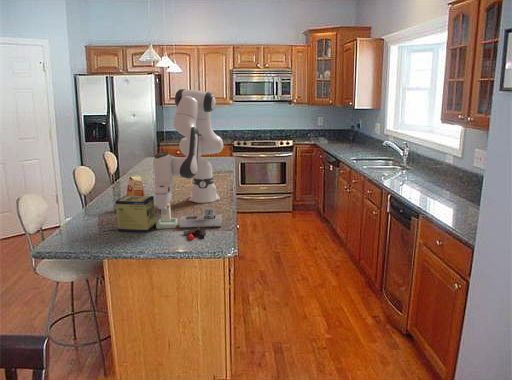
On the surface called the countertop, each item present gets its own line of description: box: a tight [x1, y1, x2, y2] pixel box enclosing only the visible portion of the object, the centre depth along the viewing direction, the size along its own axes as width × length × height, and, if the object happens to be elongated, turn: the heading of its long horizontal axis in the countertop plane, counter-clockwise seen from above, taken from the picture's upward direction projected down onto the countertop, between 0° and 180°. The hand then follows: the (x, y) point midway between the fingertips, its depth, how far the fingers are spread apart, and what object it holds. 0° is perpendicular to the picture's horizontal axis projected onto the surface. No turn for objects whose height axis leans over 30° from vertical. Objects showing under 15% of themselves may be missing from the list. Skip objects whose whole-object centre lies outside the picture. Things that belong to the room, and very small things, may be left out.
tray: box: [155, 217, 179, 230], centre depth 219 cm, size 10×9×2 cm
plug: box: [160, 202, 172, 221], centre depth 218 cm, size 4×4×8 cm
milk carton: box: [126, 174, 146, 196], centre depth 251 cm, size 9×9×20 cm
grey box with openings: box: [178, 206, 222, 229], centre depth 214 cm, size 14×20×8 cm
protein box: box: [115, 195, 157, 234], centre depth 213 cm, size 10×16×16 cm
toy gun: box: [182, 225, 207, 241], centre depth 201 cm, size 10×12×5 cm
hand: (166, 212), depth 218 cm, fingers closed on plug, 4 cm apart
